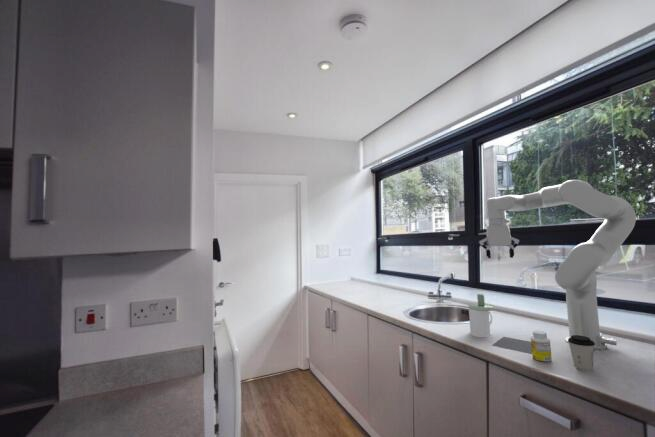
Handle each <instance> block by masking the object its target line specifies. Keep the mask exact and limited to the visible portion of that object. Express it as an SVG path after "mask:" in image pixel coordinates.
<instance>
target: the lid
mask: <svg viewBox="0 0 655 437" xmlns="http://www.w3.org/2000/svg"><path fill="white" fill-rule="evenodd" d="M476 296H477V299H476V300H477V302H475V303H474V302H473V303H469V304H468V305H467V307H468V310H469V309H472V310H478V311H489V312H490V311H495V310H496V306H495V305H494V304H491V303H486V301H485V295H484V293H483V294H482V293H477V294H476Z"/></svg>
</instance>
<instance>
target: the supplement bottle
mask: <svg viewBox="0 0 655 437" xmlns="http://www.w3.org/2000/svg"><path fill="white" fill-rule="evenodd" d="M547 335H548V334H547V332H546V331H543V330H533V331H532V336H531V337H530V342H531V345H532V354H531V355H532V360H533V361H535V362H537V363H541V364H551V363H553V357H552V349H551V339H550V338H548V336H547Z"/></svg>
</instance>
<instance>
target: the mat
mask: <svg viewBox="0 0 655 437" xmlns="http://www.w3.org/2000/svg"><path fill="white" fill-rule="evenodd" d="M491 346H493V347H497V348H502V349H507V350H510V351H511V350H512V351H516V352H521V353H525V354H529V355H532V345H531V340H530V341H528V340H523V339H519V338H513V337H508V336H502V337H501V338H500V339H498V340H497V341H495V342H494V343H492V345H491Z"/></svg>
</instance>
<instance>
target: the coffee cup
mask: <svg viewBox="0 0 655 437" xmlns="http://www.w3.org/2000/svg"><path fill="white" fill-rule="evenodd" d="M568 342H569V343H568V346H569V348H570V352H571V353H570V354H571V357H572V360H573V365H574V367H575V369H576V370H578V371H581V372H588V373H589V372H593V370H594V352H595V351H594V345H595V343H594V342H593V341H592V340H590V338H588V337H585V336H580V335H572V336H571V338H569V339H568Z"/></svg>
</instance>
